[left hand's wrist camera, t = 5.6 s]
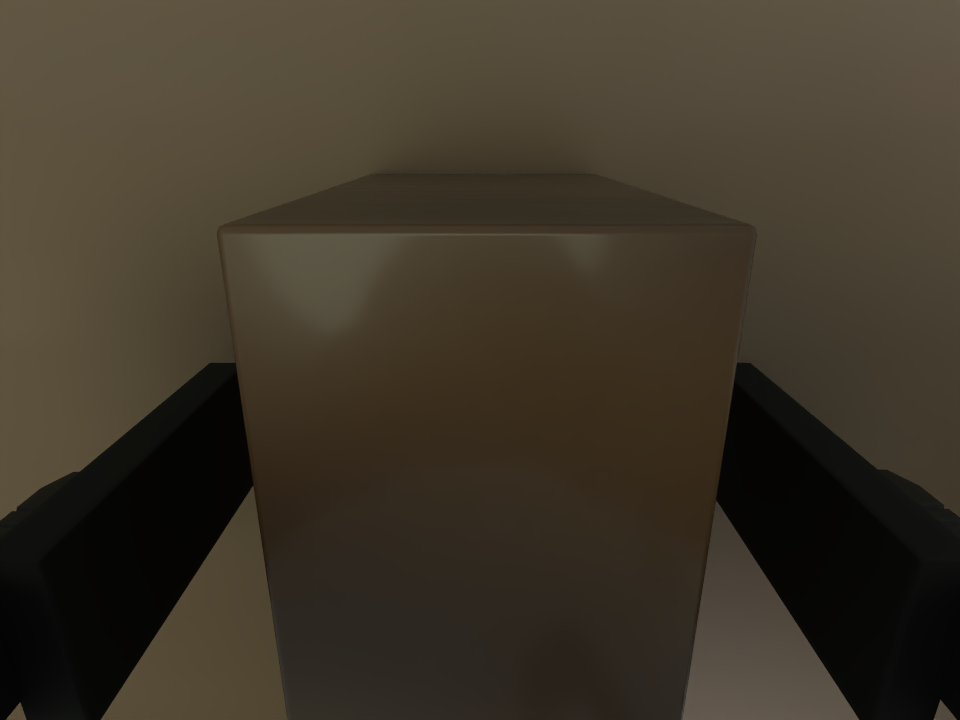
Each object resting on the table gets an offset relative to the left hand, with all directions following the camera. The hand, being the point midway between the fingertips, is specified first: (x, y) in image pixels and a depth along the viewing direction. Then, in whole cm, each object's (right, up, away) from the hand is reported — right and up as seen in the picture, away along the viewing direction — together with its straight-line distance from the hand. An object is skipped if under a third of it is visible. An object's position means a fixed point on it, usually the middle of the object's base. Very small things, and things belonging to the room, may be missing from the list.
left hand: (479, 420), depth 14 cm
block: (0, -22, +10) cm, 25 cm away
